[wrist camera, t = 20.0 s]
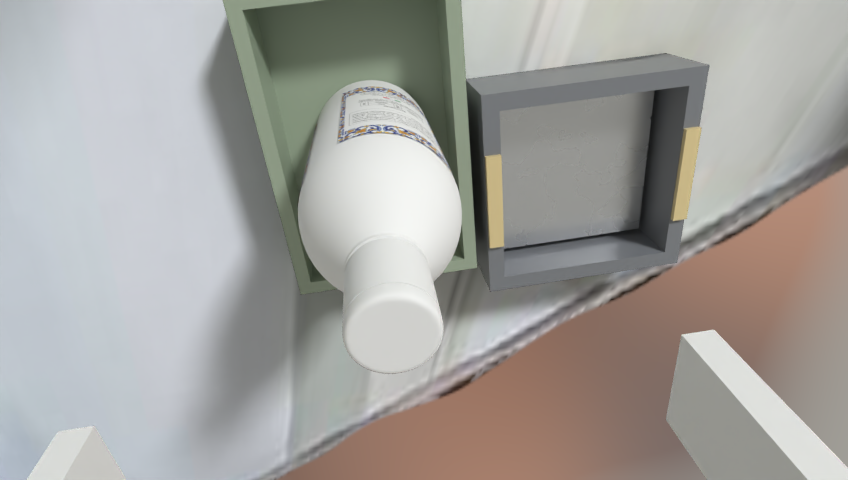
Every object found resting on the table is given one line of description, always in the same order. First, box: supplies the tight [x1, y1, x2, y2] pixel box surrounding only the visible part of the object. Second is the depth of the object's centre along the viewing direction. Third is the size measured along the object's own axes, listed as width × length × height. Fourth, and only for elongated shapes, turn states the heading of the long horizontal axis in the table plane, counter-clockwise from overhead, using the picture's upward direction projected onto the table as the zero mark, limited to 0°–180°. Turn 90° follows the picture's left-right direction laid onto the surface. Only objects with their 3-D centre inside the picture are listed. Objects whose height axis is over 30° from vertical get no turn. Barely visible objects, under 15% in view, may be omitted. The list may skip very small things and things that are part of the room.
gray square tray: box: [466, 53, 709, 292], centre depth 33 cm, size 13×13×5 cm
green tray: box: [223, 0, 477, 295], centre depth 31 cm, size 12×18×4 cm, turn 7°
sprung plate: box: [500, 90, 655, 249], centre depth 34 cm, size 10×10×1 cm
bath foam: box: [298, 80, 462, 374], centre depth 23 cm, size 7×7×20 cm
